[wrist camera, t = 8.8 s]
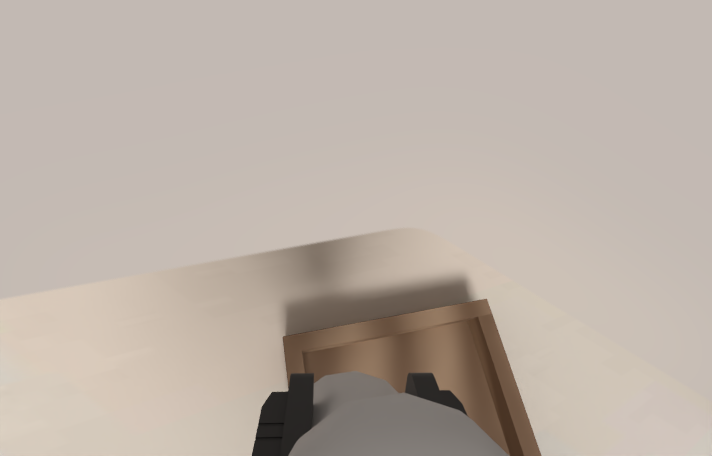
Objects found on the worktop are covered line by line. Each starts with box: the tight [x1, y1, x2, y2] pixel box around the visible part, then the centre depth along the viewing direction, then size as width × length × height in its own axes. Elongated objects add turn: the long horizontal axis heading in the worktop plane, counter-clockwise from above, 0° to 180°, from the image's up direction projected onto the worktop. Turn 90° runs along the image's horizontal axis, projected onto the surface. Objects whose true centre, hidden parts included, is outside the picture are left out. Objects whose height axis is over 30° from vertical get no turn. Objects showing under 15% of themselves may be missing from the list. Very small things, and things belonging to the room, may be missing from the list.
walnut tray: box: [283, 299, 541, 456], centre depth 25 cm, size 16×16×3 cm
